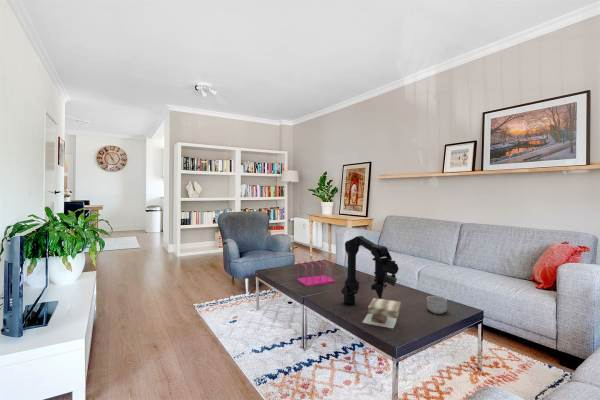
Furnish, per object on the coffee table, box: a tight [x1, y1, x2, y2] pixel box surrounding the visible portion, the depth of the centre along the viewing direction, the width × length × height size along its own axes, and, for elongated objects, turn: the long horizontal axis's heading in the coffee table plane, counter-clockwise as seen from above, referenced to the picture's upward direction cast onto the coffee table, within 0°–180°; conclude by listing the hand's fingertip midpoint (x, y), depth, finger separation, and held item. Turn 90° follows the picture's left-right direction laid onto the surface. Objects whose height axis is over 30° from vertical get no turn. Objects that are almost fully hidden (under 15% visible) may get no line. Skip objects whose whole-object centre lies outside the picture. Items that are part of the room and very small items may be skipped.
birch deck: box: [367, 297, 402, 319], centre depth 179 cm, size 16×16×4 cm
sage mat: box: [362, 313, 398, 329], centre depth 166 cm, size 16×13×1 cm
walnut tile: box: [371, 313, 387, 324], centre depth 165 cm, size 7×6×2 cm
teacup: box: [426, 295, 448, 315], centre depth 178 cm, size 14×11×8 cm
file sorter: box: [296, 258, 336, 288], centre depth 236 cm, size 17×25×16 cm
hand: (380, 298), depth 166 cm, fingers closed
